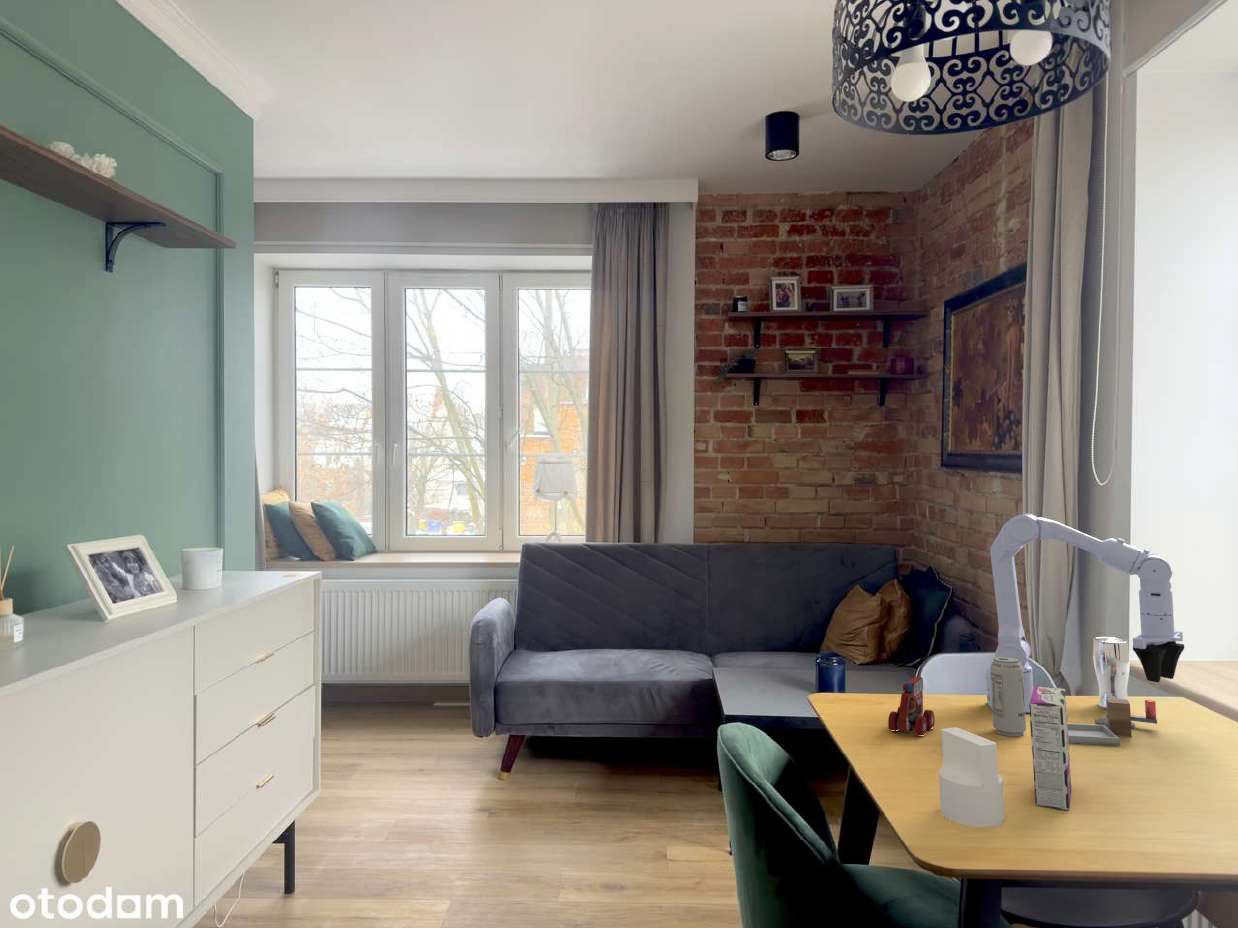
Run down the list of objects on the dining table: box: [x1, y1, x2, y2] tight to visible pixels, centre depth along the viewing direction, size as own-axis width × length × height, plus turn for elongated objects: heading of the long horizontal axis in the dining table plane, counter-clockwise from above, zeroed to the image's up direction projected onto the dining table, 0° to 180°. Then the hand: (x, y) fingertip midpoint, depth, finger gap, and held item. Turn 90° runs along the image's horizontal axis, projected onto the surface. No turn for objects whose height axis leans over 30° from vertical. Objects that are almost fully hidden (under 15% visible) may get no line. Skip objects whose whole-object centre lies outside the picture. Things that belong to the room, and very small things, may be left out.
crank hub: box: [1094, 717, 1136, 730], centre depth 161 cm, size 7×7×1 cm
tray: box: [1067, 722, 1121, 746], centre depth 153 cm, size 9×9×1 cm
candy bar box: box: [1029, 686, 1072, 811], centre depth 125 cm, size 11×5×16 cm, turn 148°
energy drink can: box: [989, 656, 1027, 737], centre depth 158 cm, size 6×6×15 cm
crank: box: [1105, 699, 1158, 725], centre depth 160 cm, size 9×3×4 cm, turn 54°
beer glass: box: [1092, 636, 1131, 710], centre depth 174 cm, size 7×7×15 cm
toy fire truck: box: [887, 676, 936, 736], centre depth 161 cm, size 7×12×10 cm, turn 142°
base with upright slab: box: [938, 727, 1006, 828], centre depth 119 cm, size 9×9×12 cm
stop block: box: [1106, 698, 1132, 738], centre depth 155 cm, size 4×4×6 cm
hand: (1160, 679), depth 160 cm, fingers open, 4 cm apart
